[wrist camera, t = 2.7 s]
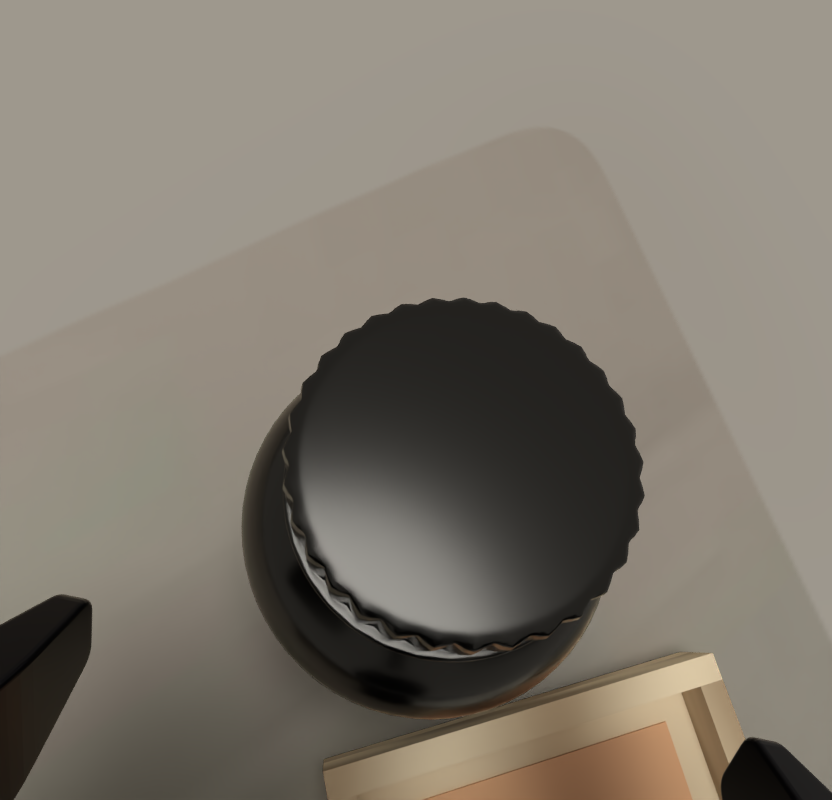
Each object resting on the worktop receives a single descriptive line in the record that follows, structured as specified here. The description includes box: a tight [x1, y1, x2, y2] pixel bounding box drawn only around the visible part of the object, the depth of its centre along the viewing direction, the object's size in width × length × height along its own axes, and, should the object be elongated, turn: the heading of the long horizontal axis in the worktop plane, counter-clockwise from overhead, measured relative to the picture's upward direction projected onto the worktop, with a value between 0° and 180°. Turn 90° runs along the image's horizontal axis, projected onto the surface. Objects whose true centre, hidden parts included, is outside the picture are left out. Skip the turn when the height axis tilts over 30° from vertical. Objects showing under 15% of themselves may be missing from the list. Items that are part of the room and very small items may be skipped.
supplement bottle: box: [242, 298, 645, 719], centre depth 13 cm, size 7×7×12 cm
